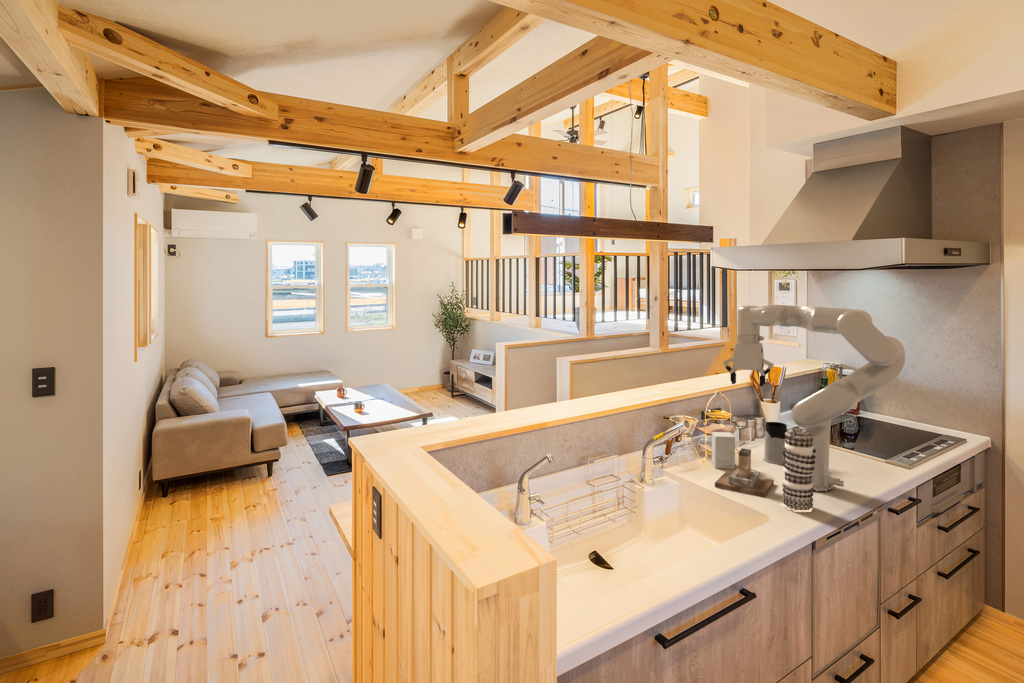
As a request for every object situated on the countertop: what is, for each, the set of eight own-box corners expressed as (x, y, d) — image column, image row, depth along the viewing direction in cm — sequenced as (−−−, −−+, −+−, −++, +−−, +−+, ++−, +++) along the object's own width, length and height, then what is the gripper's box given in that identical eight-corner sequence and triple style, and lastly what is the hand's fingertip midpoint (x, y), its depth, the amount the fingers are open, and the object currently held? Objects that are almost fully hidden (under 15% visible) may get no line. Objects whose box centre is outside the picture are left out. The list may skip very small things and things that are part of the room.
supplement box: (735, 469, 194) (735, 437, 193) (714, 468, 196) (715, 436, 195) (730, 462, 201) (731, 431, 200) (711, 462, 203) (711, 431, 202)
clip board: (773, 484, 178) (773, 473, 178) (764, 497, 167) (764, 485, 167) (726, 475, 188) (726, 464, 188) (714, 486, 177) (715, 475, 177)
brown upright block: (750, 479, 179) (751, 449, 178) (747, 484, 175) (748, 453, 174) (741, 478, 181) (741, 448, 180) (738, 482, 177) (738, 452, 176)
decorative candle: (792, 499, 165) (794, 424, 163) (820, 509, 157) (823, 430, 155) (774, 505, 161) (776, 428, 159) (802, 516, 153) (805, 435, 150)
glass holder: (762, 456, 208) (762, 420, 207) (801, 459, 203) (802, 423, 202) (764, 463, 200) (765, 426, 199) (805, 466, 195) (806, 428, 194)
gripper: (776, 339, 184) (775, 385, 186) (726, 337, 195) (726, 381, 197) (771, 340, 179) (770, 388, 180) (720, 339, 189) (720, 384, 191)
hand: (747, 384), depth 188 cm, fingers open, 9 cm apart
